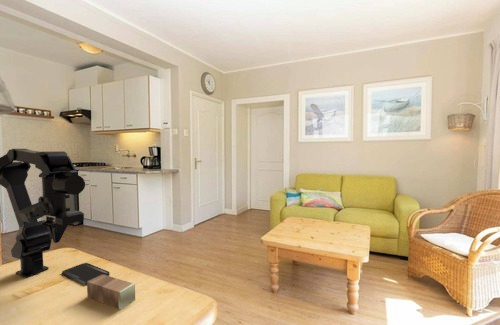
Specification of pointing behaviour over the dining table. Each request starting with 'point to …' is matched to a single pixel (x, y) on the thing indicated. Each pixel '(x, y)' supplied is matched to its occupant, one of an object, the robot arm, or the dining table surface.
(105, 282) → the walnut block
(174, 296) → the dining table surface
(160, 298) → the dining table surface
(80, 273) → the phone
